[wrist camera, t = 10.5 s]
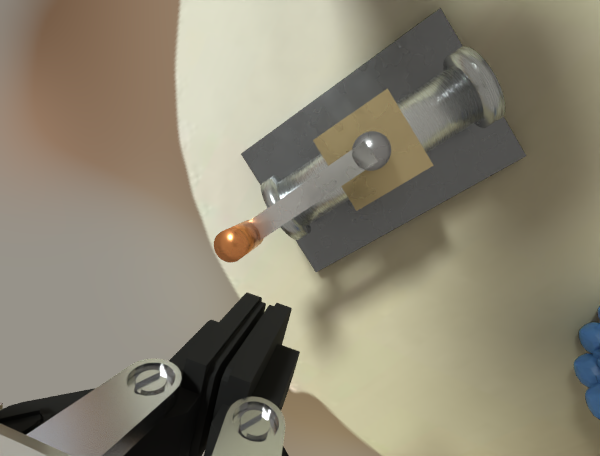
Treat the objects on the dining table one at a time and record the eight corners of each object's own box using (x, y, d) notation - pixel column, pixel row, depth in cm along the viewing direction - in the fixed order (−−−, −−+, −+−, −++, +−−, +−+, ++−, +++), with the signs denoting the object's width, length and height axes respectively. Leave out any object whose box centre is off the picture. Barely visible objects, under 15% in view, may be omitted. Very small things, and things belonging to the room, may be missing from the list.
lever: (377, 125, 25) (378, 116, 20) (397, 156, 25) (403, 154, 20) (233, 226, 29) (206, 239, 24) (251, 252, 29) (227, 270, 24)
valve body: (245, 154, 38) (202, 151, 28) (437, 13, 31) (467, -53, 22) (317, 269, 39) (300, 303, 29) (520, 156, 32) (584, 153, 23)
